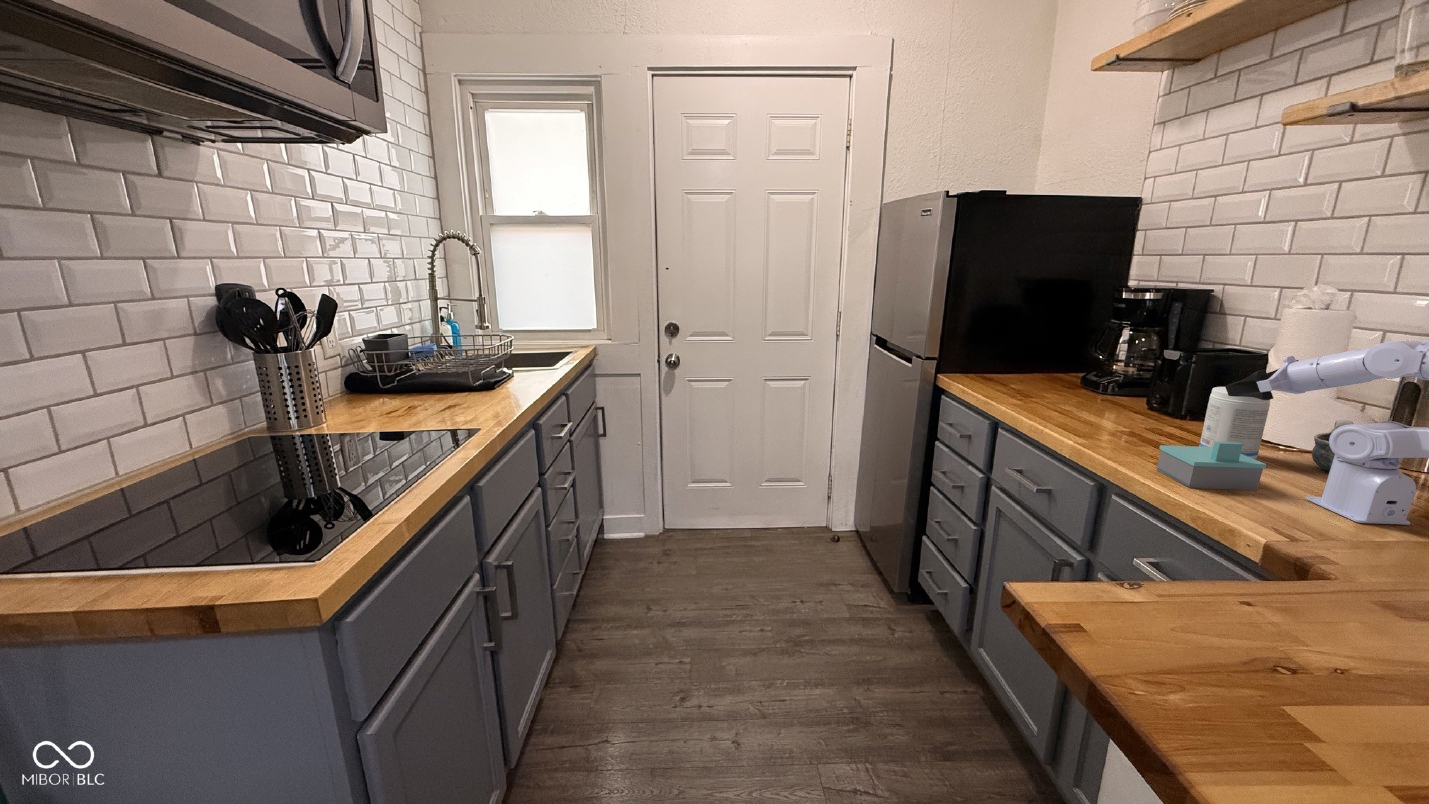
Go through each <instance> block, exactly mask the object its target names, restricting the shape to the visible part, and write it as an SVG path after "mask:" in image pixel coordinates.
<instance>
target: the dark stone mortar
mask: <svg viewBox="0 0 1429 804" xmlns="http://www.w3.org/2000/svg"><path fill="white" fill-rule="evenodd" d="M1350 424H1355V423H1354V422H1353V421H1352V420H1348V419H1338V420H1335V422H1334V426H1333V428H1331V430H1330V431H1328V432H1321V433H1317V434H1315V435H1314V437H1313V439H1314V446H1313V448H1312V450H1311V459H1312V460H1313V463H1315V464H1316V465H1317V466H1318V467H1319V468H1321V470H1324V471H1327V472H1328V473H1329V472H1330V469H1331V466H1332V463H1333V459H1334V456H1335V453H1334V452H1333V451H1332V450H1331V448H1330V445H1329V438H1330V436H1331V434H1332V432H1333V431H1334V430H1336V429H1337V428H1339V427H1341V426H1344V425H1350Z"/></svg>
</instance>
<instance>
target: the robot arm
mask: <svg viewBox="0 0 1429 804" xmlns="http://www.w3.org/2000/svg"><path fill="white" fill-rule="evenodd" d="M1282 361H1283V365H1281V367H1279V368H1277V369H1274V370H1272V371H1269V372H1267V370H1266V369H1261V370H1257V371H1255V372H1253V373H1251V374H1250V375H1249V376H1247V377H1246V378H1244V379H1241V380H1238V381H1236V382H1232V383H1229V384H1227V385H1225V386H1224V387H1225V388H1226V390H1227V393H1228V396H1235V397H1254V398H1258V399H1261V400H1270V401H1271V400H1274V396H1273V395H1274V394H1273V393H1272V391H1274V392H1275V391H1276V392H1281V393H1288V394H1296V395H1299V394H1305V393H1307V392H1311V391H1312V392H1313V391H1318V390H1319V391H1320V390H1327V389H1333V388H1338V387H1345V386H1353V385H1359V384H1365V383H1369V382H1373V381H1375V380H1381V379H1388V380H1391V379H1393V380H1395V379H1399V378H1403V377H1406V378H1407V377H1408V378H1417V379H1420V380H1423V381H1429V339H1424V340H1422V341H1421V340H1420V341H1419V340H1403V341H1402V340H1401V341H1399V340H1398V341H1386V342H1381V343H1377V344H1375V345H1374V346H1369V347H1366V348H1363V349H1353V350H1348V351H1343V352H1342V351H1341V352H1337V353H1333V354H1327V355H1323V356H1318V357H1312V358H1306V359H1302V360H1301V359H1300V360H1298V359H1296V357H1295V356H1294V355H1290V356H1284V357H1283V359H1282ZM1329 445H1330V448H1331V450H1332V451H1333V452H1334V453H1335V456H1334V459H1333V463H1332V466H1331V469H1330V472H1329V471H1328V476H1327V480H1326V483H1325V486H1324V490H1323V492H1322V495H1321V496H1305V500H1307V501H1309V502H1312V503H1313V504H1316V505H1318V506H1320V507H1322V508H1323V509H1324V508H1325V509H1327V510H1329V511H1331V512H1333V513H1336V514H1338V515H1340V516H1342V517H1345V518H1347V519H1349V520H1350V521H1351V520H1352V521H1354V522H1356V523H1360V524H1377V525H1378V524H1379V525H1380V524H1382V525H1385V524H1386V525H1404V526H1405V525H1406V526H1407V525H1409V526H1410V524H1411V521H1409V520H1407V517H1408V516H1409V512H1410V510H1411V506H1412V504H1413V502H1414V497H1415V495H1416V493H1417V484H1416V482H1415V480H1414V479H1413V478H1411V477H1410V476H1408V475H1406V474H1404V473H1403V472H1402V471H1401V469H1400V467H1401V460H1402V459H1412V458H1414V459H1416V458H1418V459H1419V458H1421V459H1423V458H1424V459H1429V427H1426V426H1423V427H1422V426H1409V425H1407V424H1404V423H1402V422H1397V421H1390V420H1389V421H1387V420H1385V421H1379V422H1374V423H1364V424H1363V423H1361V424H1355V423H1354V424H1350V425H1344V426H1341V427H1339V428H1337V429H1336V430H1334V431H1333V432H1332V434H1331V436H1330V438H1329Z"/></svg>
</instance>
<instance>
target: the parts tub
mask: <svg viewBox="0 0 1429 804" xmlns="http://www.w3.org/2000/svg"><path fill="white" fill-rule="evenodd" d="M1158 457H1159V458H1158V462H1157V465H1156V466H1157V467H1156V471H1157V472H1159V473H1161V474H1162V475H1165V476H1166V477H1168V478H1170V479H1172V480H1173V481H1176V482H1178V483H1180V484H1181V485H1183V486H1184V487H1187V488H1189V489H1208V490H1209V489H1211V490H1235V491H1236V490H1237V491H1238V490H1239V491H1240V490H1241V491H1258V488H1259V485H1260V481H1261V478H1262V474H1263V470H1264V468H1239V467H1210V466H1193V465H1191V464H1189V463H1187V462H1185V461H1183V460H1181V459H1179V458H1176V457H1174V456H1172V455H1170V454H1168V453H1166V452H1164V451H1162V450H1160V452H1159V456H1158Z"/></svg>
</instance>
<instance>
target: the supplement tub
mask: <svg viewBox="0 0 1429 804" xmlns="http://www.w3.org/2000/svg"><path fill="white" fill-rule="evenodd" d="M1270 406H1271V399H1270V400H1261V399H1258V398H1254V397H1235V396H1228V393H1227V390H1226V388H1225V386H1216V387H1213V388H1212V389H1211V393H1210V395H1209V399H1208V403H1207V408H1206V411H1205V417H1204V424H1203V427H1202V432H1201V436H1200V442H1199V445H1198V447H1214V443H1215V441H1217V442H1239V443H1241V444H1243V446H1242V450H1241V454H1243V455H1245V456H1248V457H1250V458H1253V459H1255V460H1257V458H1258V455H1259V452H1260V448H1261V443H1262V440H1263V436H1264V431H1265V426H1266V423H1267V419H1268V416H1269V415H1268V414H1269V411H1270Z"/></svg>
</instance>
